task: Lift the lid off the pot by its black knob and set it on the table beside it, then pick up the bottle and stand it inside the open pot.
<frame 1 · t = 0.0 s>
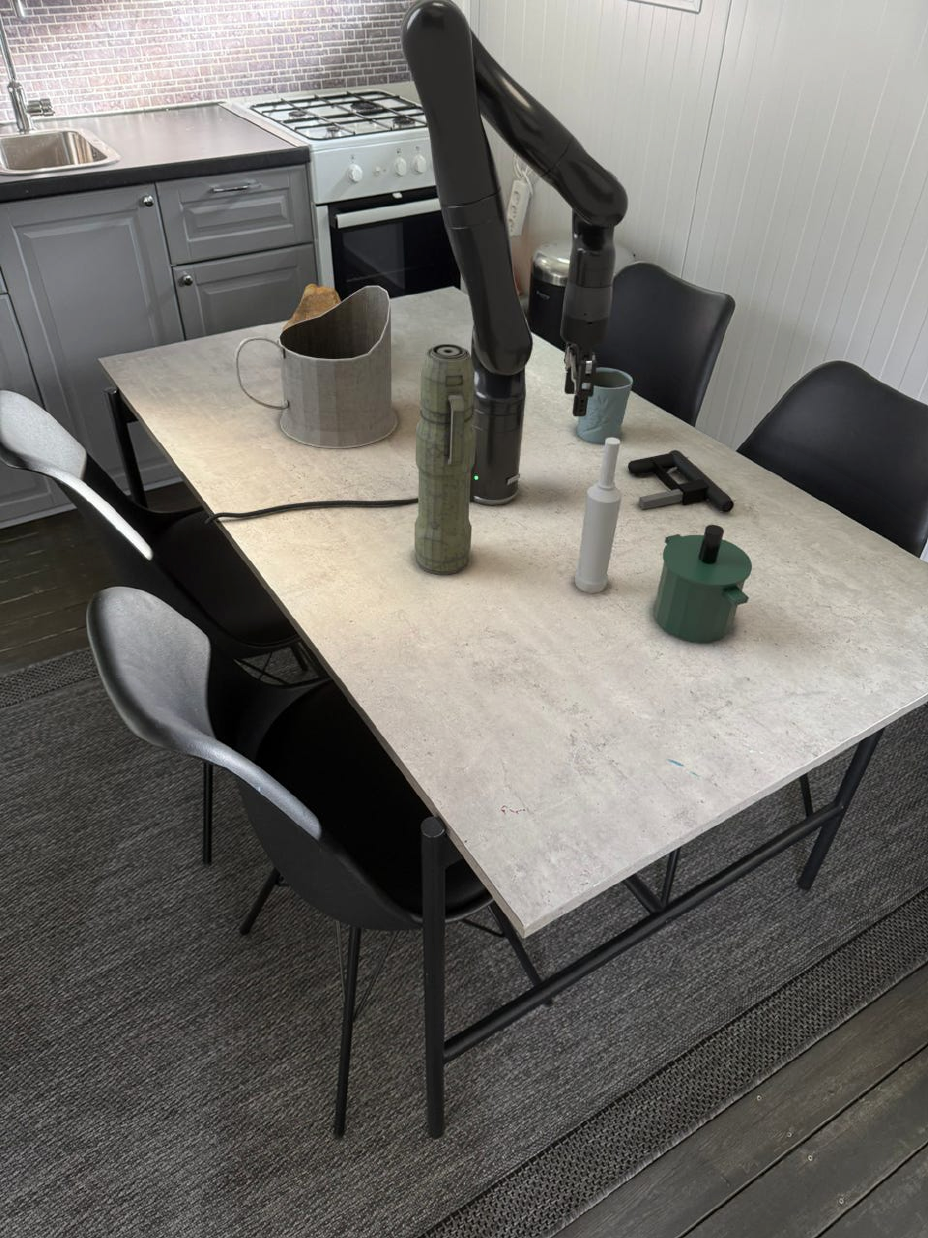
hand: (574, 404, 154), 17 cm above the table, tool pointing down, fingers open, 8 cm apart
thermos: (442, 560, 147), on the table
pot: (692, 618, 137), on the table
lid: (706, 561, 131), point 10 cm above the table, touching pot
rough brown rock: (317, 364, 205), on the table
bottle: (590, 585, 143), on the table
door handle: (670, 492, 167), on the table
blue embossed cup: (598, 434, 184), on the table
pitcher: (319, 426, 182), on the table
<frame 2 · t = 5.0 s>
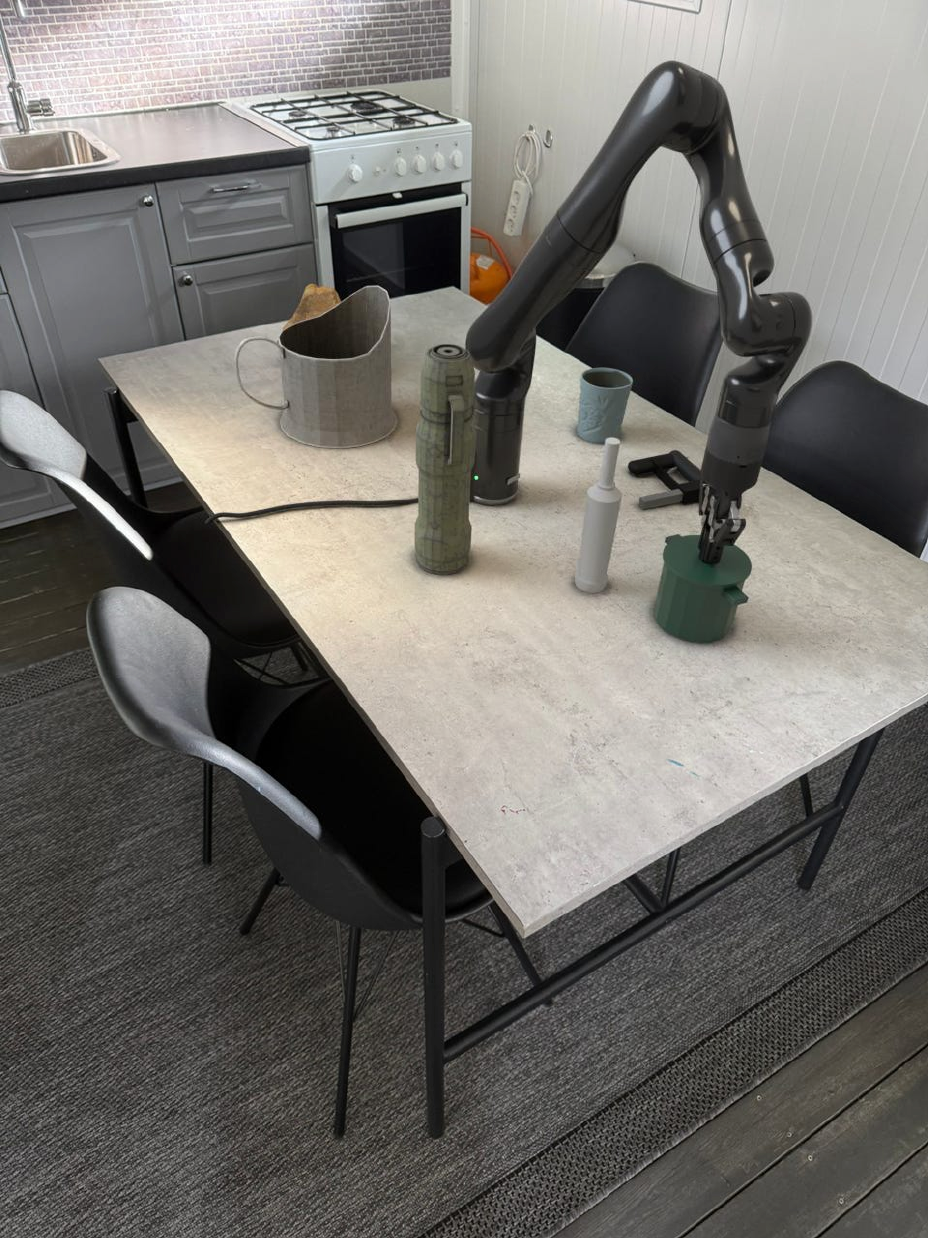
hand: (708, 555, 130), 12 cm above the table, tool pointing down, fingers closed on lid, 2 cm apart
lid: (706, 561, 131), point 11 cm above the table, touching pot, gripper
everything else where it was.
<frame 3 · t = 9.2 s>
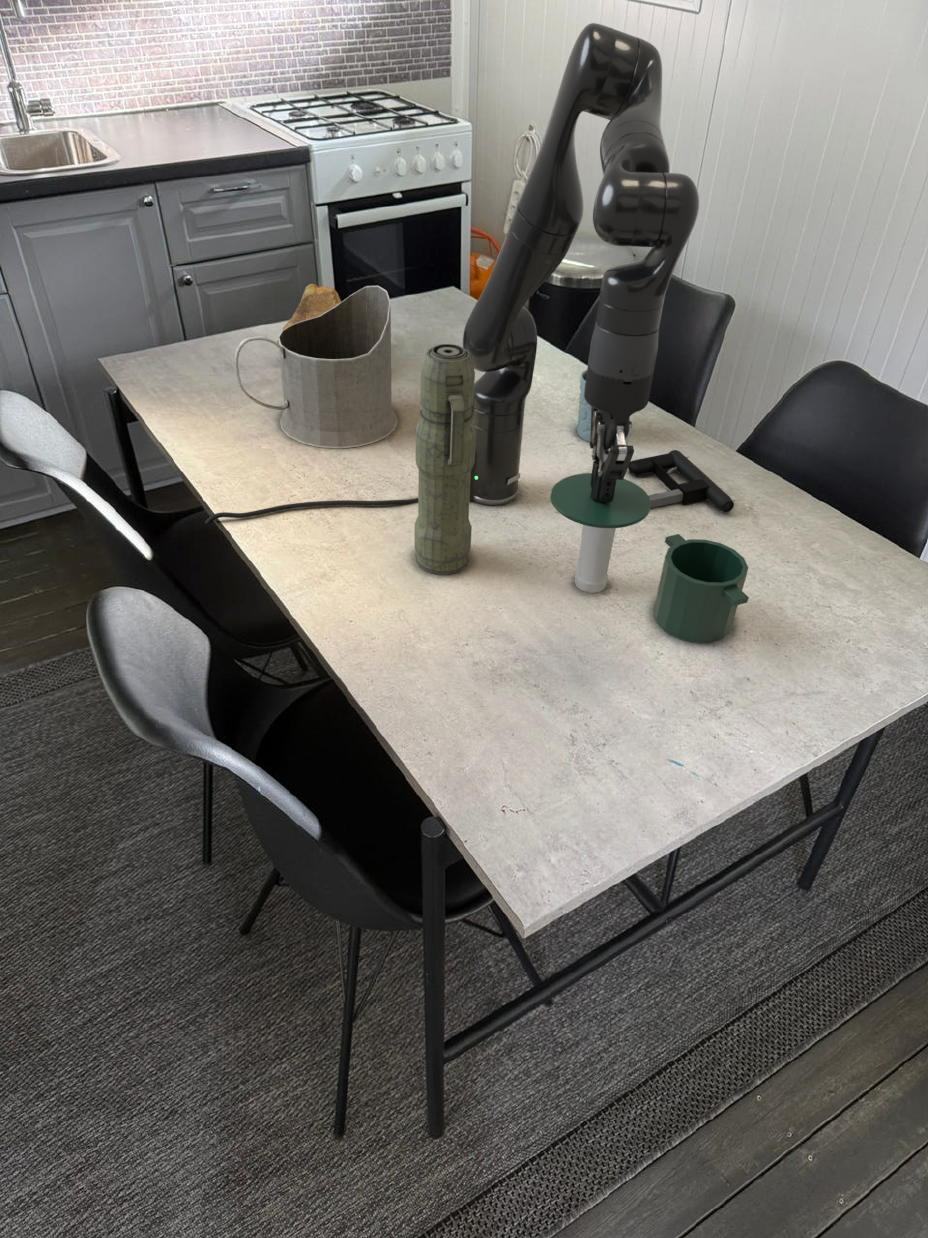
hand: (601, 493, 114), 26 cm above the table, tool pointing down, fingers closed on lid, 2 cm apart
lid: (600, 501, 115), point 25 cm above the table, touching gripper
everything else where it was.
when the fingers open (2 cm above the table, at t = 13.7 s): lid stays where it is, point 1 cm above the table.
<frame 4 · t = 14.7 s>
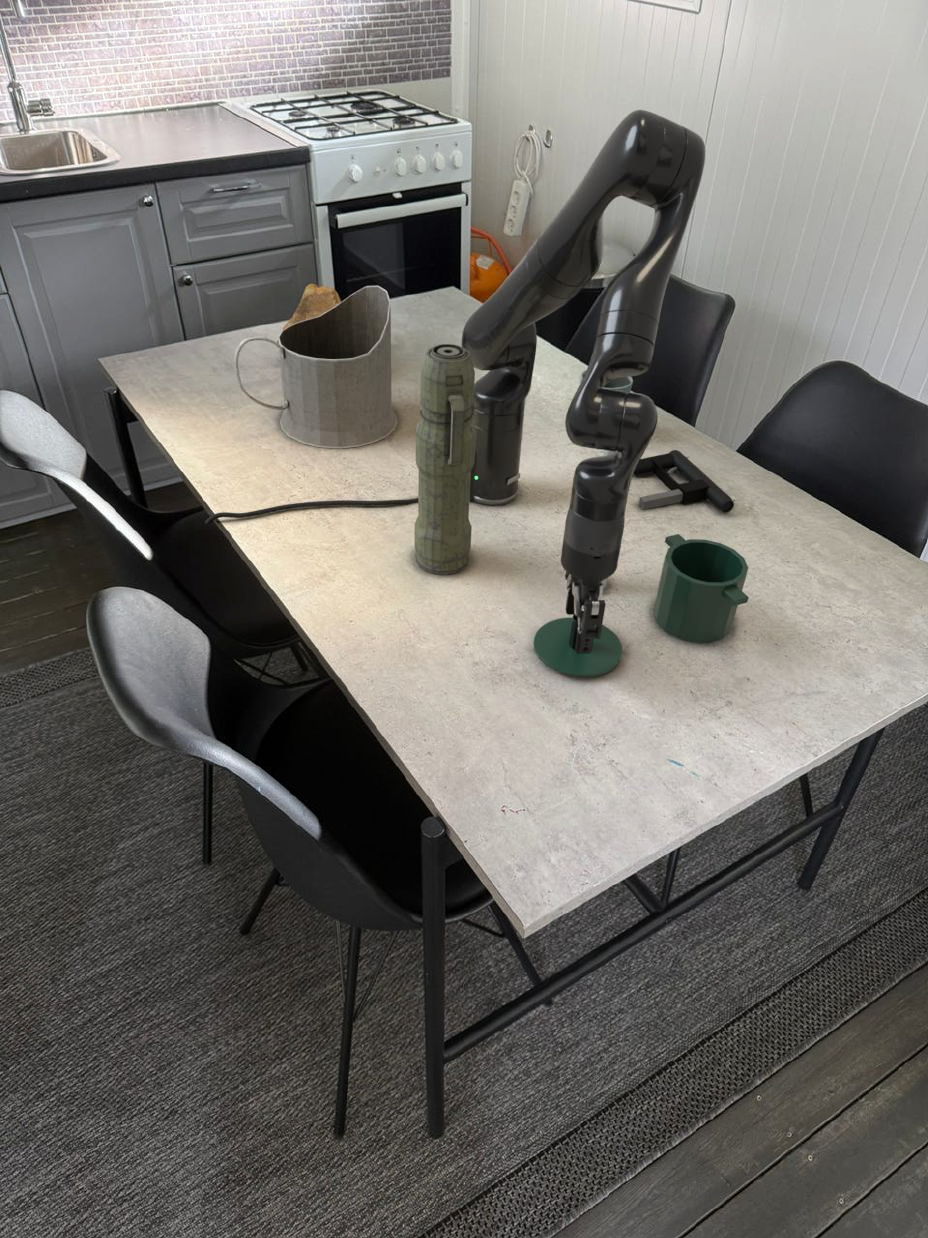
hand: (577, 632, 128), 3 cm above the table, tool pointing down, fingers open, 8 cm apart
lid: (577, 647, 130), point 1 cm above the table
everything else where it was.
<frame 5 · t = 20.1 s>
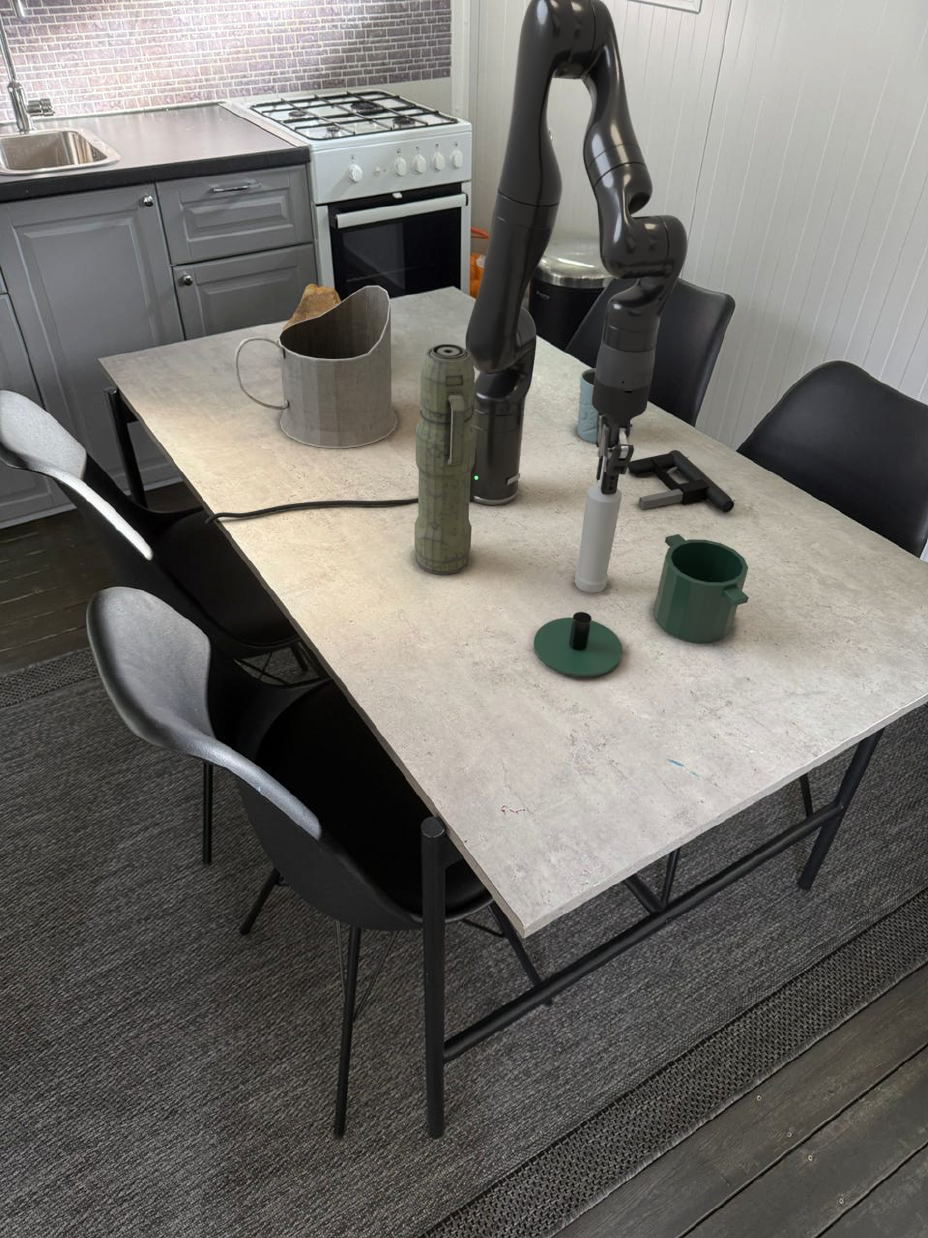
hand: (605, 486, 132), 18 cm above the table, tool pointing down, fingers closed on bottle, 2 cm apart
bottle: (590, 585, 143), on the table, touching gripper
everything else where it was.
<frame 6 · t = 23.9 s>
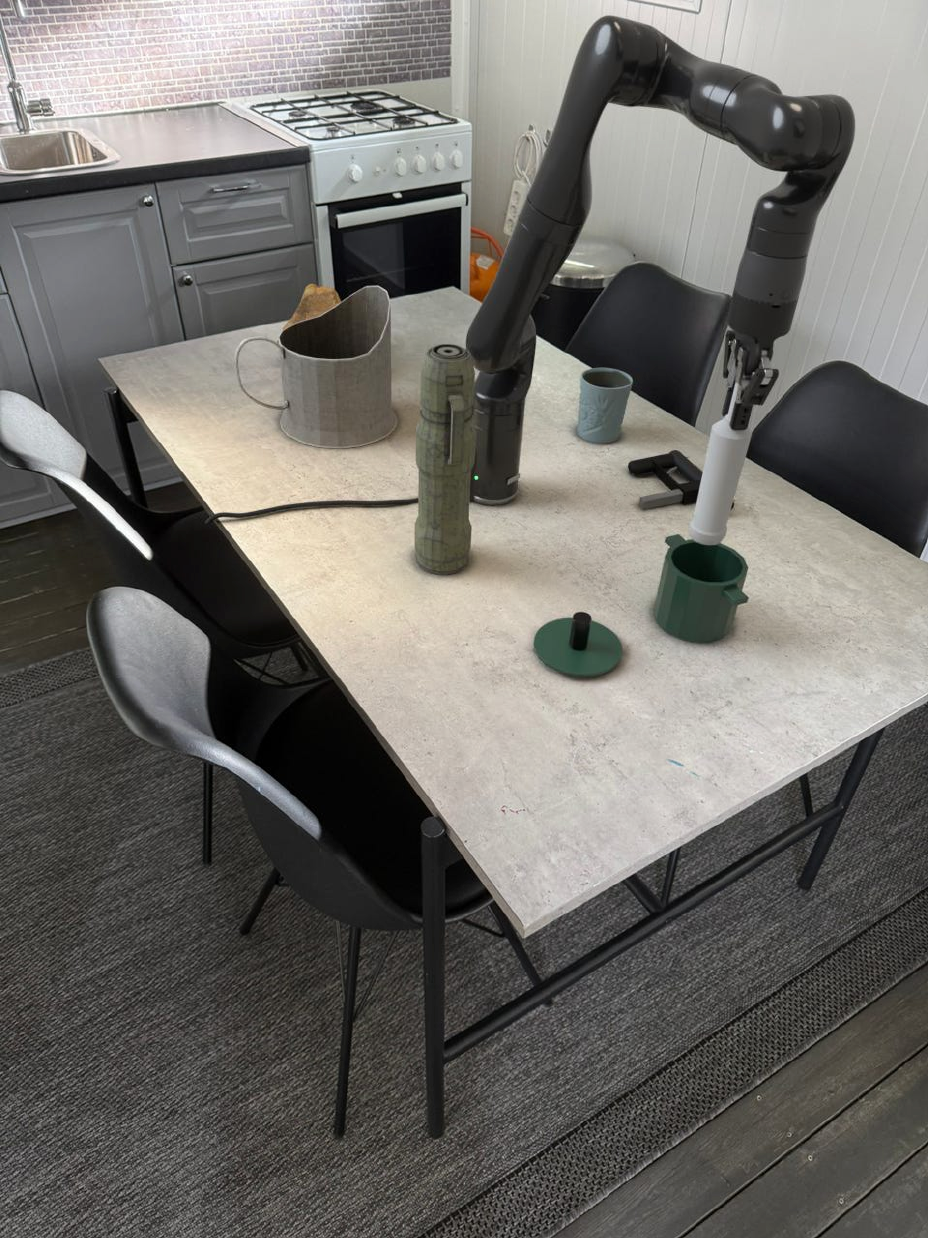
hand: (734, 422, 118), 32 cm above the table, tool pointing down, fingers closed on bottle, 2 cm apart
bottle: (705, 537, 129), point 14 cm above the table, touching gripper
everything else where it was.
when the fingers open (18 cm above the table, at t = 27.9 s): bottle stays where it is, resting on pot.
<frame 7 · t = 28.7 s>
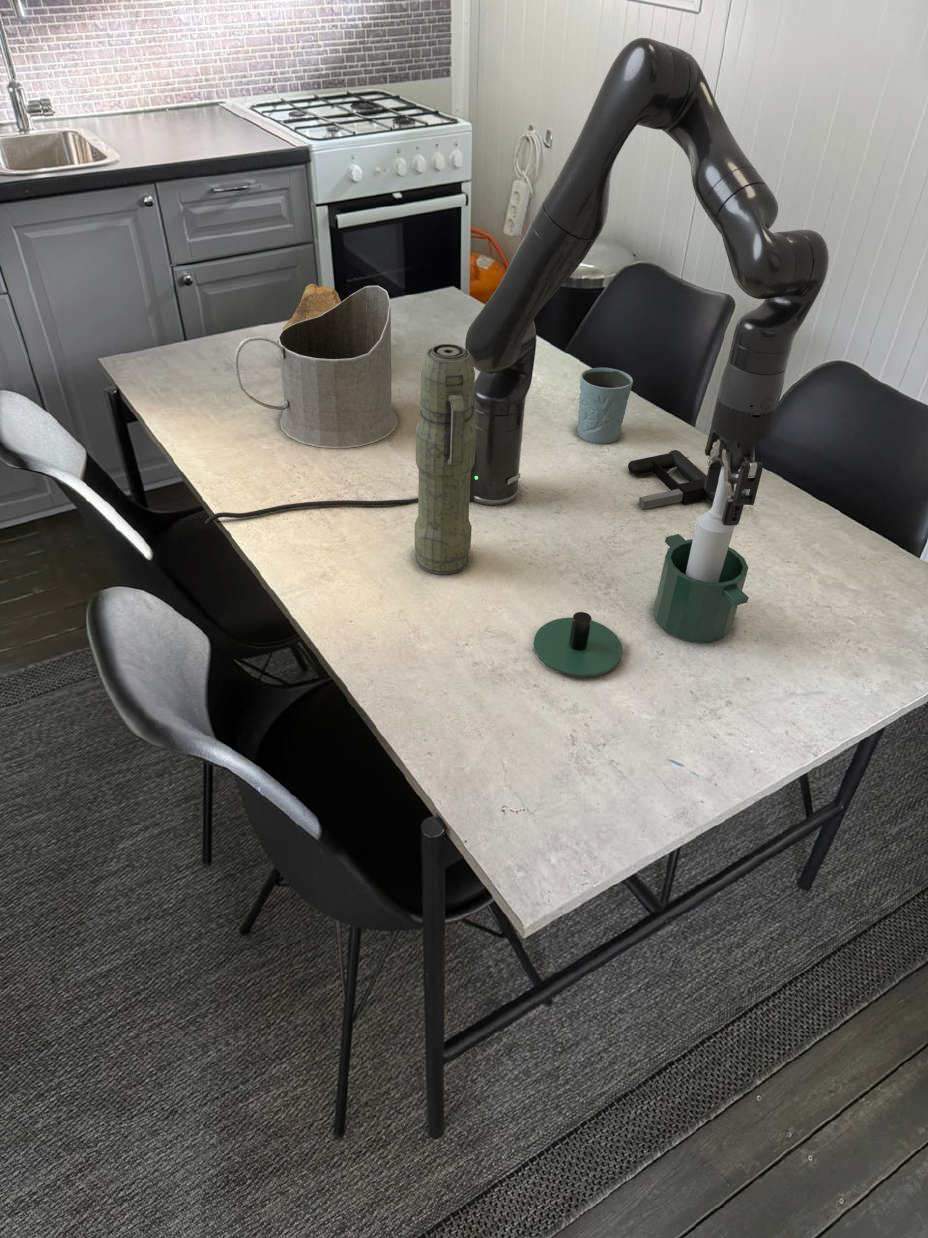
hand: (720, 507, 125), 20 cm above the table, tool pointing down, fingers open, 8 cm apart
bottle: (692, 616, 137), resting on pot
everything else where it was.
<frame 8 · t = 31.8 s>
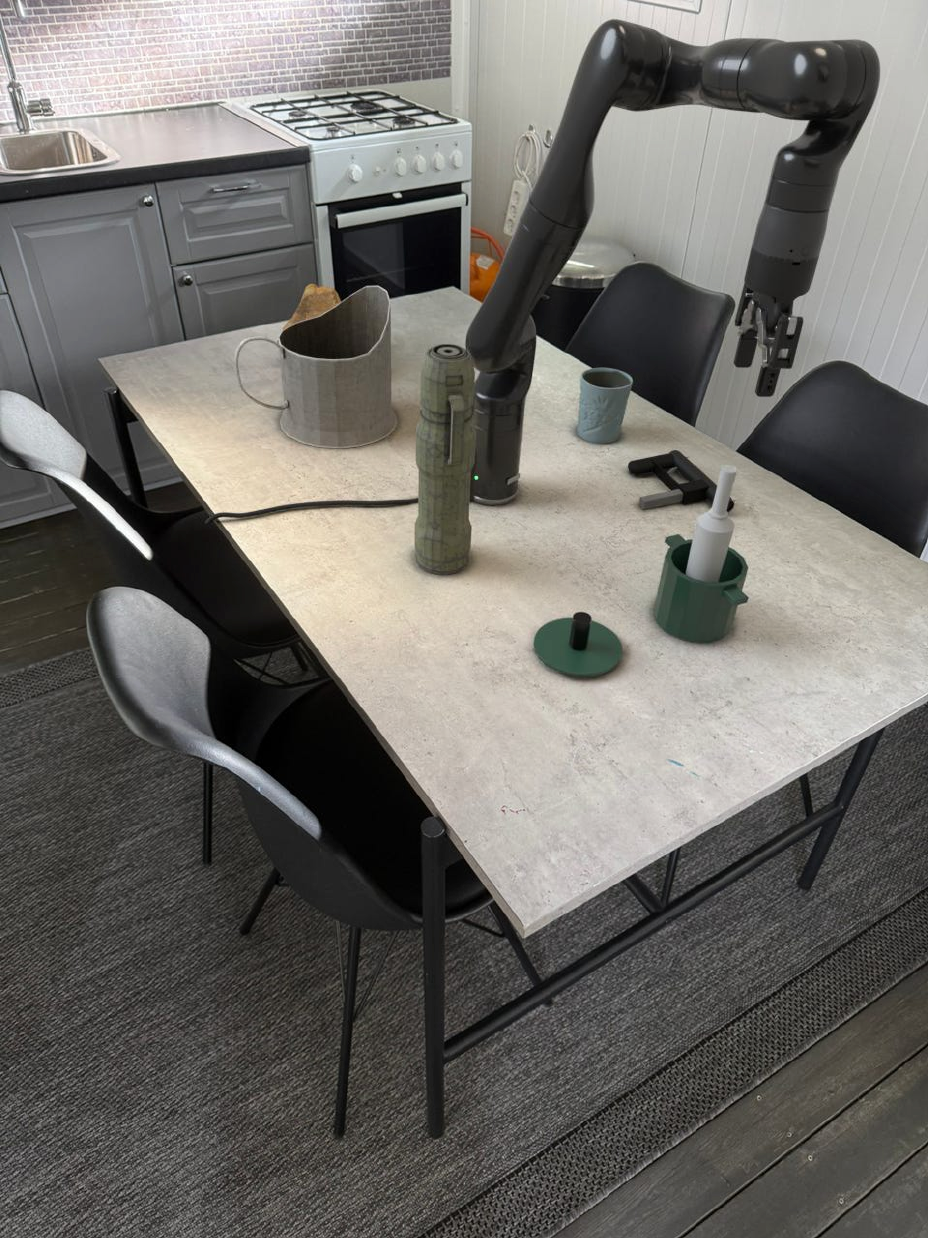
hand: (752, 380, 114), 38 cm above the table, tool pointing down, fingers open, 8 cm apart
nothing on the table moved.
at the end: lid inside the target area (0.2 cm from its centre), point 0.6 cm above the table; bottle 0.2 cm off-centre in the pot, point 0.3 cm above the pot's base; bottle tilted 0° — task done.
